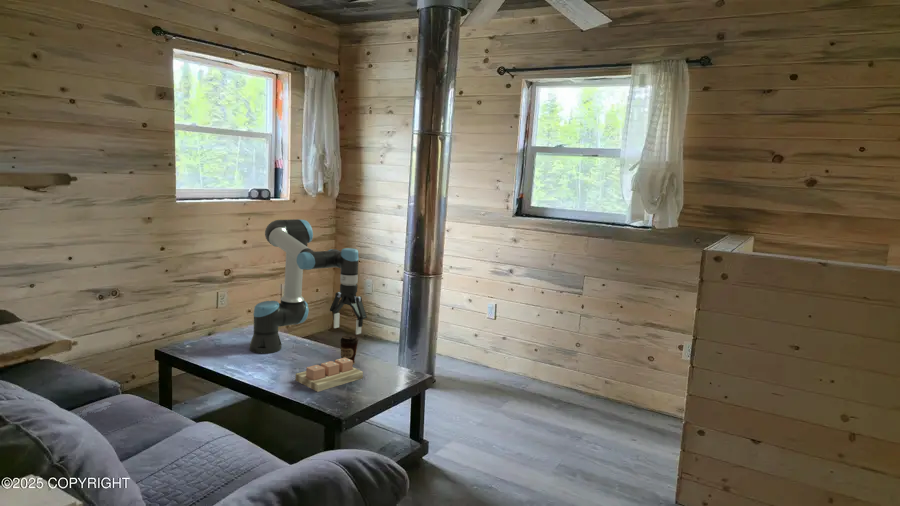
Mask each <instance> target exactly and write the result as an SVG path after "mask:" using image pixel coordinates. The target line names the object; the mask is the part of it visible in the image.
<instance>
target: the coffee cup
mask: <svg viewBox="0 0 900 506" xmlns="http://www.w3.org/2000/svg"><path fill="white" fill-rule="evenodd" d="M340 338H341V339H339V342H340V359H341V358H348V359H350V360H352V361H353V365H355V363H356V361H355V359H356V355H357V352H358V351H357V350H358V344H359V339H358V336H357V335H354V334H350V335H349V334H348V335H342V336H341V337H340Z"/></svg>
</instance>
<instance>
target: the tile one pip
mask: <svg viewBox="0 0 900 506" xmlns="http://www.w3.org/2000/svg"><path fill="white" fill-rule="evenodd" d="M305 371H306V377H307V378H309V379H311V380H313V381H315V380H319V379H322V378H325V368H324V367H322V366H321V365H319V364H315V365H311V366H306V370H305Z"/></svg>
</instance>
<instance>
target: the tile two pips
mask: <svg viewBox="0 0 900 506" xmlns="http://www.w3.org/2000/svg"><path fill="white" fill-rule="evenodd" d="M320 366H322V367H324V368H325V375H326V376H328V377H329V376H333V375H336V374H339V364H337V363H335V361H333V360H330V361H326V362H322V363H320Z"/></svg>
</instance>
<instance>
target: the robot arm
mask: <svg viewBox="0 0 900 506" xmlns="http://www.w3.org/2000/svg"><path fill="white" fill-rule="evenodd" d="M264 237H265V239H266V241H267V243H269V244H270V245H271V246H273V247H276V248H277V247H278V248H279V249H281V250H282V251H283V252H285V267H284V268H285V269H284V288H283V289H284V290H283V291H284V292H283V296H281V297H280V303H279V301H277V300H265V301H261V302H259V303H257V304H256V305H255V306H254V307H253V334H252V338H251V340H250V343H249V351H250V352H252V353H256V354H273V353H277V352H279V351H281V350H282V345H283V344H282V340H281V338H280V335H279V327H287V326H292V325H298V324H302V323H305V322H306V320H307V319H308V316H309V305H308V302H307V301H305V298H304V297H303V296H302V295H303V294H302V293H303V275H304V271H305V270H307V271H309V270H317V269H318V270H319V269H330V268H337V269H340V285H339V291H337V292H335V296H334V298H333V301H332V303H331V306H330V308H329V312H332V319H333V329H337V328H340V319H341V318H340V315H341V314H340V311H341V309H342V308H343V306H344V305H347V306H350V307H351V309H352V312H354V314H355V316H356V318H357V319H355V321H356V322H355V335H361V334H362V327H363V324H364V323H363V322H364V320H365V319H367V317H368V316H367V314H366V310H365V306H364V304H363V303H364V302H363V297H362V296H357V292H358V282H359V281H358V280H359V279H358V277H359V259H360V257H359V250H358V249H357V248H351V247H346V248H342V249H341V250H338V249H335V248H334V249H331V248H330V249H329V250H322V251H321V250H320V251H316V250H315V251H314V250H313V249H312V248H310V247H308V244H309V243H311V242H312V241H313V237H314V231H313V227H312V225H311V224H310V222H309V221H308V220H306V219H299V218H296V219H294V218H293V219H275V220H273V221H271V222H270V223H269V224H267V226H266V228H265V231H264Z"/></svg>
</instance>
